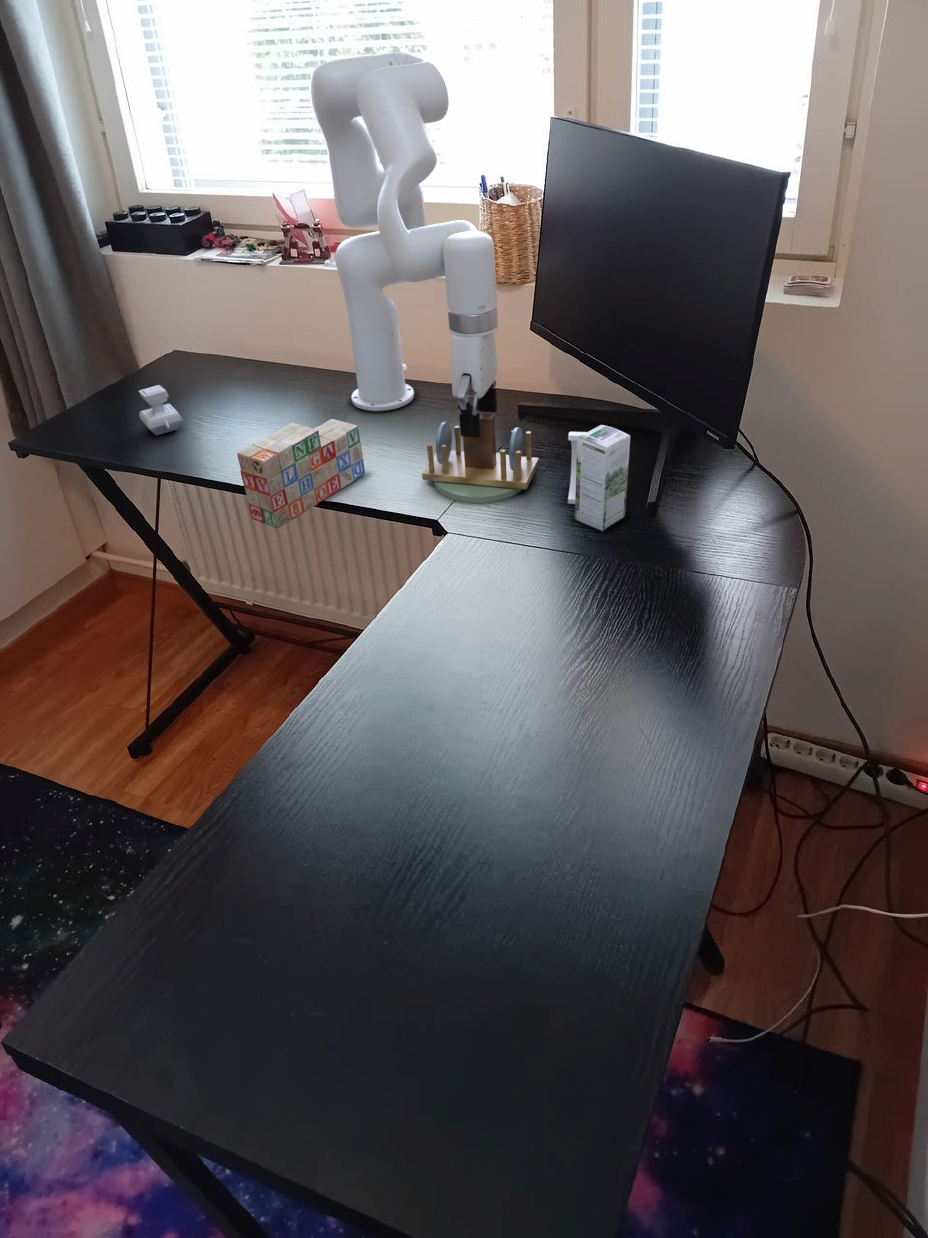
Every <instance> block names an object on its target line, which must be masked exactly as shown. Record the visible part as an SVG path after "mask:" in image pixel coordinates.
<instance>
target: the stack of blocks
mask: <svg viewBox="0 0 928 1238" xmlns="http://www.w3.org/2000/svg"><path fill="white" fill-rule="evenodd" d="M362 446H363V445H362V443H361V437H360V431H359V426H358V425H356V424H352V423H349V422H346V421H345V422H344V421H342V420H338V419H334V418H330V419H329V420H327V421H325V422H323V423H321V424H320V425H317V426H315V427H313V428H312V427H309V426H304V425H301V424H298V423H295V422H290V423H288V424H287V425H285V426H282V427H281V428H279V429H277V430H275V431H274V432H272V433H270V434H268V435H267V436H264V437H263V438H261V439H259V440H257V441H255V442H254V443H252V444H250V445H247V446H245V447H244V448H242V449H240V450H238V451H237V452H236V456H237V460H238V464H239V468H240V470H239V472H240V475H241V481H242V485H243V486H244V491H245V495H246V499H247V503H248V508H249V513H250V518H251V520H254V521H256V522H259V523H262V524H265V525H267V526H269V527H272V528H274V529H280V528H281V527H282V526H285V525H286V524H288V523H289V522H291V521H294V520H295V519H296V518H298V517H299V516H301V515H302V514H304V513H306V512H307V511H309V510H311V509H312V508H314V507H316V506H317V505H318V504H320V503H321V502H322V501H324V500H326V499H327V498H329V497H330V496H332V495H333V494H335V493H337V492H338V491H340V490H341V489H343V488H345V487H346V486H348V485H350V484H351V483H354V482H355V481H356V480H358V479H360V478H361V477H363V476H364V475H365V474H366V469H365V462H364V455H363V447H362Z"/></svg>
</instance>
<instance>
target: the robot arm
mask: <svg viewBox="0 0 928 1238" xmlns="http://www.w3.org/2000/svg"><path fill="white" fill-rule="evenodd" d="M308 90H309V91H308V93H309V99H310V105H311V109H312V112H313V114H314V118H315V120H316V123H317V125H318V127H319V130H320V132H321V134H322V137H323V139H324V142H325V146H326V151H327V159H328V164H329V171H330V178H331V184H332V191H333V198H334V203H335V204H334V205H335V208H336V213H337V216H338V219H339V220H340V222H341V224H343V225H344V226H345V227H347V228H352V229H359V228H367V227H373V226H378V230H377V231H373V232H368V233H367V232H366V233H364V234H358V235H354V236H351V237H349V238H346V239H345V240H343V241H342V242H341V243H340V244H339V245H338V246H337V247H336V251H335V255H334V261H335V266H336V267H335V268H336V270H337V274H338V277H339V281H340V283H341V287H342V292H343V295H344V300H345V305H346V311H347V318H348V324H349V332H350V339H351V348H352V353H353V363H354V369H355V377H356V383H357V385H356V386H357V388H356V389H355V390H353V392H352V393H351V397H350V398H351V403H352V405H353V406H354V407H356V408H358V409H360V410H363V411H369V412H386V411H392V410H396V409H399V408H402V407H405V406H406V405H408V404H410V403H411V402H412V401H413V399H414V398H415V390H414V388H413V387H412V386H411V385H410V384H407V383H406V378H405V375H406V372H407V371H408V366H407V365H406V364H405V363H404V357H403V350H402V349H403V348H402V338H401V328H400V320H399V311H398V307H397V306H396V304H395V303H394V301H393V300H392V299H391V298H390V297H389V296H388V295H386V293H385V292H384V290H383V289H384V288H386V287H390V286H393V285H397V284H401V283H406V282H407V283H419V282H420V283H421V282H424V281H429V280H433V279H438V278H443V277H444V279H445V292H446V304H447V318H448V332H449V333H450V334H451V335H452V337H451V350H450V351H451V352H450V357H451V358H450V360H451V361H450V362H451V363H450V364H451V365H450V366H451V370H450V371H451V392H452V396H453V397H454V398H455V399H456V402H457V408H458V409H457V410H458V411H457V413H458V417H459V427H460V437H462V438H463V437H475V438H479V437H480V435H481V429H480V414H481V412H483V413H496V412H497V411H498V402H497V401H498V400H497V388H496V387H497V381H496V377H497V367H498V366H497V351H496V350H497V349H496V340H495V339H496V338H495V332H496V331H498V328H499V318H498V297H497V276H496V273H497V272H496V255H495V251H496V250H495V242H494V240H493V238H492V236H491V235H489V234H488V233H486V232H483V231H479V230H478V229H477V228H476V226H475V225H474V224H473V223H472V222H470V221H467V220H465V219H464V220H463V219H458V220H451V221H447V222H442V223H441V222H440V223H434V224H430V225H427V219H426V208H425V200H424V199H425V198H424V191H423V186H422V182H424V181H425V180H426V179H427V178H428V177H429V176H430V175H431V174H432V172H433V171H434V169H435V168H436V166H437V164H438V163H437V162H438V154H437V150H436V148H435V146H434V144H433V141H432V139H431V136H430V134H429V132H428V129H427V127H426V124H431V123H436V122H439V121H441V120H443V119H444V118H445V117H446V115H447V113H448V112H449V109H450V108H449V107H450V91H449V87H448V84H447V81H446V79H445V77H444V75H443V73H442V72H441V70H440V69H439V68H438V66H436V65H435V64H434V63H433V62H431V61H429V60H427V59H424V58H421V57H418V56H415V55H413V54H411V53H407V52H401V51H400V52H388V53H380V54H379V53H378V54H372V55H364V56H363V55H362V56H353V57H352V56H351V57H346V58H338V59H334V60H331V61H327V62H324V63H322V64H320V65H318V66H317V67H316V68H315V69H313V71H312V72H311V75H310V78H309V87H308ZM379 163H380V164H379ZM469 400H470V401H471V400H472V403H471V402H469Z"/></svg>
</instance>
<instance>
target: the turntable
mask: <svg viewBox="0 0 928 1238" xmlns="http://www.w3.org/2000/svg"><path fill="white" fill-rule="evenodd" d="M496 454H499V455H500V452H496ZM506 455H508V454H507V453H506ZM434 487H435V489H436V490H437V491H438V493H440V494H441V495H442V496H444V497H445V498H448V499H450V500H453V501H455V502H459V503H460V502H462V503H466V504H467V503H469V504H486V503H495V502H499V501H502V500H503V501H504V500H506V499H509V498H511V497H513V496H515V495H517V494H519V493H520V492H522V491H524V489H518V488H507V487H496V486H485V485H475V484H464V483H453V482H442V481H434Z"/></svg>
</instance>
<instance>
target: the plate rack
mask: <svg viewBox="0 0 928 1238" xmlns="http://www.w3.org/2000/svg"><path fill="white" fill-rule="evenodd" d="M495 417H496V416H495V414H494V413H493V414H492V413H480V429H481V435H480V437H479V438H475V437H462V441H461V432H460V425H455V426H454V428H453V429H454V444H455V450H452V447H453V445H452V444H453V432H452V427H451V423H450V422H448V421H442V422H441V423H440V424H439V427H438V429H437V432H436V437H435V454H434V450H433V443H427V444H426V451H427V461H428V462H427V463H428V464H427V465H426V467H425V468H424V470H423V471H422V472H421V478H422V480H423V481H433V482H435V481H442V482H453V483H464V484H475V485H485V486H496V487H507V488H518V489H523V490H527V489H528V487H529V485H530V483H531V481H532V479H533V477H534V475H535V473H536V471H537V469H538V467H539V465H540V458H539V457H533V452H532V451H533V449H532V447H533V445H532V444H533V443H532V431H530V430H528V431H526V432H525V450H526V451H525V452H526V453H525V455H526V456H523V451H524V436H523V435H524V434H523V429H522V428H521V427H519V426H518V427H517V426H516V427H514V428H513V429H512V430H511V432H510V433H511V435H510V440H509V447H508V454H507V452H506V449H500V450H499V453H500V455H499V454H496V453H497V444H496V443H497V442H496V419H495ZM461 442H463V451H462V443H461ZM506 454H507V455H506Z"/></svg>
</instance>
